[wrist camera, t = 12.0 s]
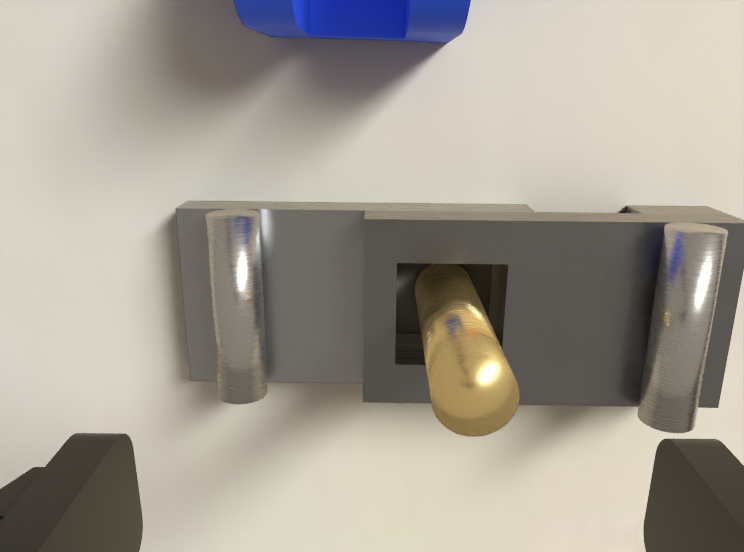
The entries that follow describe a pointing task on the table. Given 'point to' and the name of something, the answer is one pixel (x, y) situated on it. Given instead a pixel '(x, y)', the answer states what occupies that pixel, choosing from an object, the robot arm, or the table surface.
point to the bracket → (357, 19)
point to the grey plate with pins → (507, 298)
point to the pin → (463, 354)
